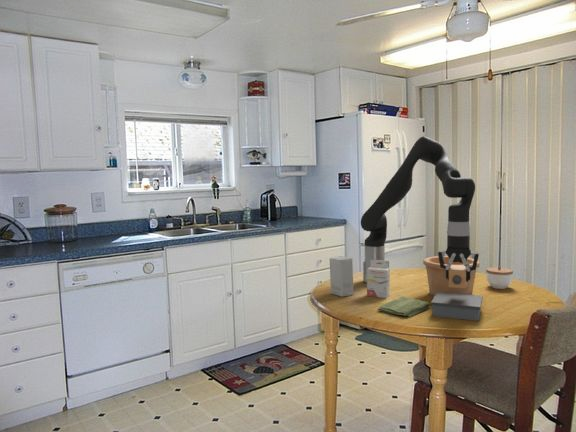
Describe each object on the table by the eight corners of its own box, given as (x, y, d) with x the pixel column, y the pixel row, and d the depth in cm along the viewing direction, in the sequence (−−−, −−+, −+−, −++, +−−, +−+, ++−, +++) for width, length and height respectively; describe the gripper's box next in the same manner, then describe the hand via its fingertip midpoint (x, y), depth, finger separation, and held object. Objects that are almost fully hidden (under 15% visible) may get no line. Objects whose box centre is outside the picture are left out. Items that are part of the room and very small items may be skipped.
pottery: (484, 302, 177) (485, 266, 175) (425, 300, 181) (425, 265, 180) (473, 289, 198) (473, 256, 197) (420, 287, 202) (420, 255, 201)
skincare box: (353, 295, 191) (353, 258, 190) (341, 297, 188) (341, 260, 187) (341, 291, 198) (341, 255, 197) (329, 293, 195) (329, 257, 194)
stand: (430, 316, 161) (431, 302, 161) (437, 304, 175) (437, 291, 175) (480, 321, 154) (480, 307, 154) (482, 308, 169) (482, 295, 168)
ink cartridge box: (366, 296, 189) (366, 261, 188) (369, 293, 193) (369, 259, 192) (387, 298, 185) (387, 262, 184) (389, 295, 190) (390, 260, 189)
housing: (451, 280, 171) (451, 264, 170) (467, 281, 168) (467, 265, 168) (448, 287, 160) (448, 271, 160) (465, 289, 158) (465, 272, 158)
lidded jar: (486, 289, 198) (486, 267, 197) (485, 283, 207) (485, 263, 207) (513, 291, 194) (514, 269, 193) (511, 285, 203) (512, 264, 203)
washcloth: (376, 312, 168) (376, 303, 168) (402, 302, 180) (402, 294, 180) (407, 320, 159) (407, 311, 158) (432, 309, 171) (432, 300, 171)
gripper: (480, 233, 163) (480, 280, 164) (438, 232, 169) (438, 277, 170) (479, 236, 156) (478, 284, 157) (436, 234, 162) (435, 281, 164)
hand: (457, 280), depth 164 cm, fingers closed on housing, 5 cm apart
